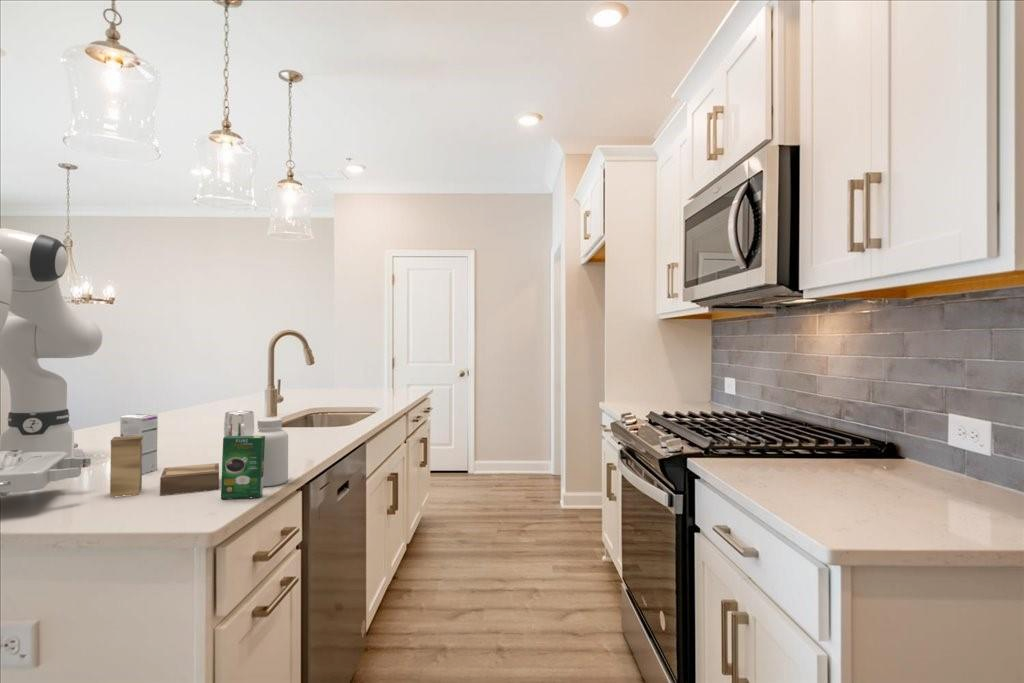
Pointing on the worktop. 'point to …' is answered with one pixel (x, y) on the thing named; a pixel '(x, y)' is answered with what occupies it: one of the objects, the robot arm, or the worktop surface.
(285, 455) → the pill bottle
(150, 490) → the worktop surface
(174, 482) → the walnut base
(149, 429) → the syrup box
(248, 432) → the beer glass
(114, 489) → the oak block
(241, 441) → the coffee box
